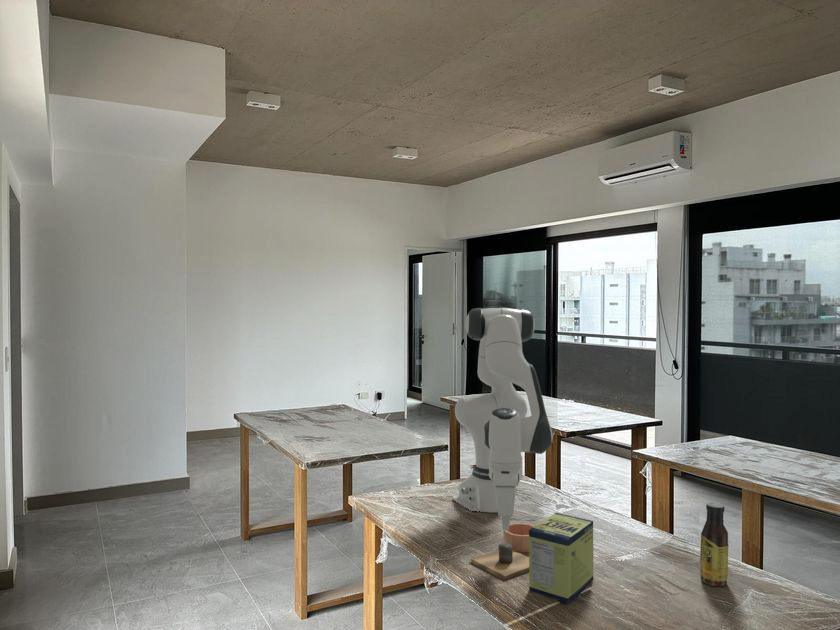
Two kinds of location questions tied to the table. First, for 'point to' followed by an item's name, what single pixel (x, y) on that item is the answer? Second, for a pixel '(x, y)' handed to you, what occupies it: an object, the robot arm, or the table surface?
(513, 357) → the robot arm
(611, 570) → the table surface
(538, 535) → the protein box
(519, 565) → the lid
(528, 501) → the table surface
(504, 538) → the bowl
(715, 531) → the sauce bottle
